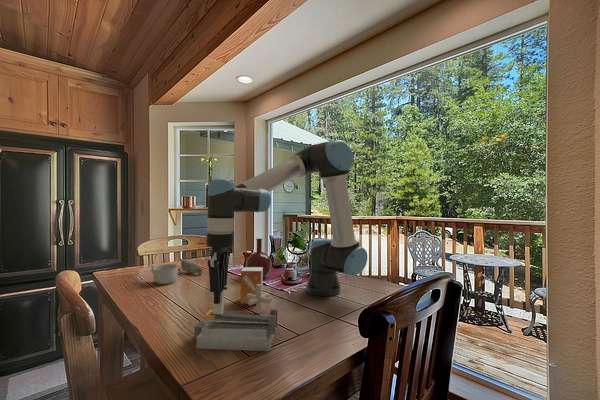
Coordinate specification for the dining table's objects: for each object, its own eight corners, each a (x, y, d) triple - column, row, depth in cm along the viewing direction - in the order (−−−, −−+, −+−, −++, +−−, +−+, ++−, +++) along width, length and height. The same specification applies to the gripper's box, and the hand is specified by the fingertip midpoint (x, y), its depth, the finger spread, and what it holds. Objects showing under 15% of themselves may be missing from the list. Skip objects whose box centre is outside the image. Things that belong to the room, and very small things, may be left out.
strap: (276, 318, 86) (276, 314, 86) (273, 326, 81) (274, 321, 81) (209, 313, 87) (210, 308, 87) (203, 320, 82) (203, 315, 82)
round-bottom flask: (246, 274, 156) (247, 237, 156) (271, 273, 158) (271, 237, 158) (244, 281, 143) (245, 240, 143) (271, 280, 145) (272, 240, 145)
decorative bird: (197, 276, 151) (197, 262, 151) (176, 273, 158) (176, 259, 158) (205, 274, 156) (205, 260, 156) (184, 270, 163) (184, 257, 163)
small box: (240, 304, 112) (240, 270, 112) (242, 298, 118) (243, 266, 118) (261, 304, 112) (261, 270, 112) (262, 298, 119) (262, 266, 119)
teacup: (182, 282, 141) (182, 265, 141) (161, 287, 132) (161, 270, 132) (165, 277, 148) (165, 262, 148) (144, 282, 139) (144, 266, 139)
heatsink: (278, 331, 90) (278, 305, 90) (273, 351, 78) (273, 321, 78) (204, 328, 91) (205, 303, 91) (188, 348, 79) (188, 318, 79)
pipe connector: (260, 320, 97) (260, 290, 97) (238, 314, 103) (238, 285, 103) (278, 311, 106) (278, 283, 106) (257, 305, 111) (257, 279, 111)
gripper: (215, 229, 91) (213, 304, 91) (198, 234, 78) (196, 322, 78) (238, 230, 91) (236, 305, 91) (226, 235, 78) (223, 323, 78)
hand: (218, 313), depth 84 cm, fingers closed
